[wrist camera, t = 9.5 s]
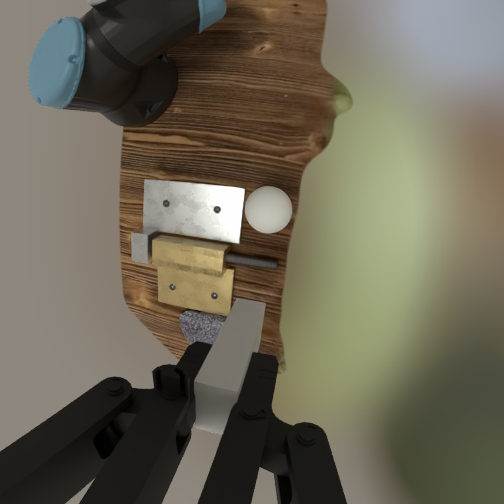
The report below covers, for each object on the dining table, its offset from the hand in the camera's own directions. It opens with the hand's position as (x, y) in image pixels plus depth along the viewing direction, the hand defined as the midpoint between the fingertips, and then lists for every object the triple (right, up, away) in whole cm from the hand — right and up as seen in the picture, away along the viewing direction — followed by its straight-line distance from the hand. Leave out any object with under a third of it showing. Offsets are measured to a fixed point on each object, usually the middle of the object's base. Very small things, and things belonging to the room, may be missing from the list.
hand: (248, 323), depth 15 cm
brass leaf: (-10, 0, +36) cm, 38 cm away
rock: (-8, -11, +40) cm, 42 cm away
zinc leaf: (-7, +8, +33) cm, 35 cm away
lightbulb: (+4, +12, +30) cm, 33 cm away
